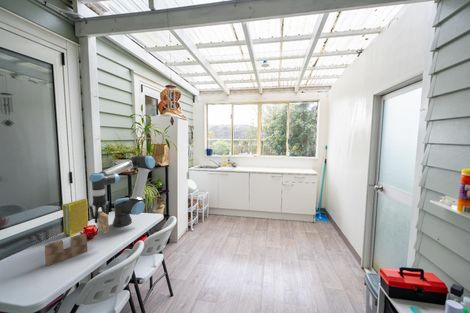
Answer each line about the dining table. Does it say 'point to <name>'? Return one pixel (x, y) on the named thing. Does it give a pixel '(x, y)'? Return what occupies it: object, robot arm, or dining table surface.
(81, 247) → the brown wooden board
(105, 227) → the tan wooden slab
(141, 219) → the dining table surface
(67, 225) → the book
